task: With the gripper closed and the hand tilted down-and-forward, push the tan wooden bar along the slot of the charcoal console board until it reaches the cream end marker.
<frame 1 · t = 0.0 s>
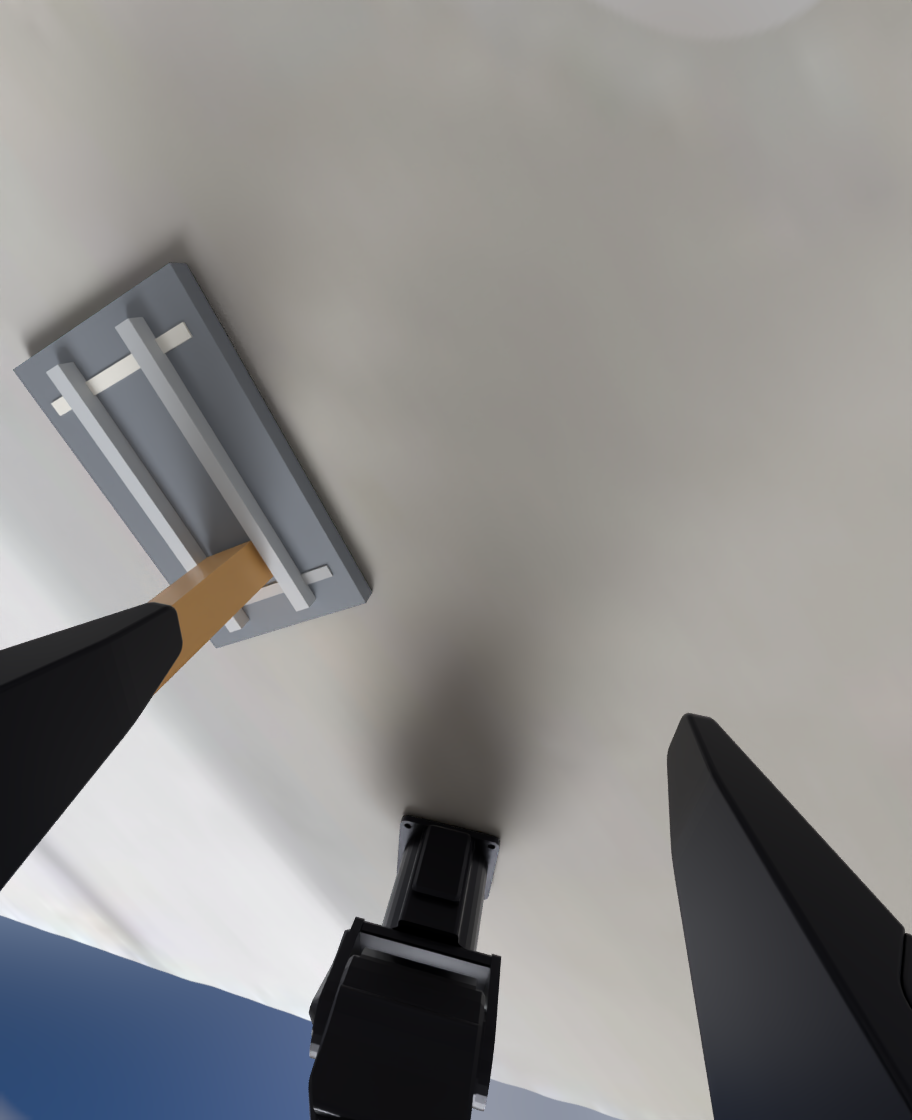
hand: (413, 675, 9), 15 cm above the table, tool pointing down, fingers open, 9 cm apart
console board: (209, 484, 26), on the table
tan wooden bar: (148, 645, 20), point 8 cm above the table, slide at 0.0 cm
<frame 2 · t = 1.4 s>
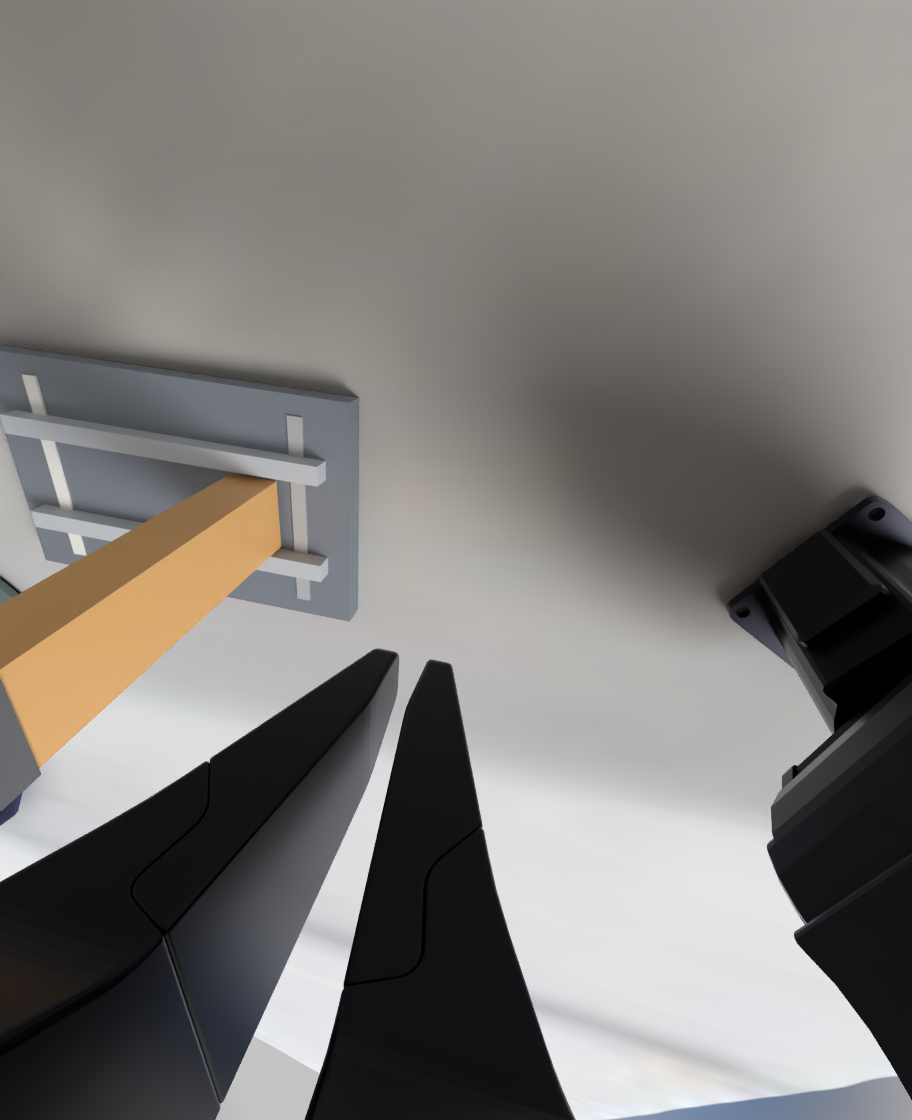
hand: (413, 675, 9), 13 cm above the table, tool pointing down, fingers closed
console board: (189, 485, 24), on the table
tan wooden bar: (149, 589, 17), point 8 cm above the table, slide at 0.0 cm
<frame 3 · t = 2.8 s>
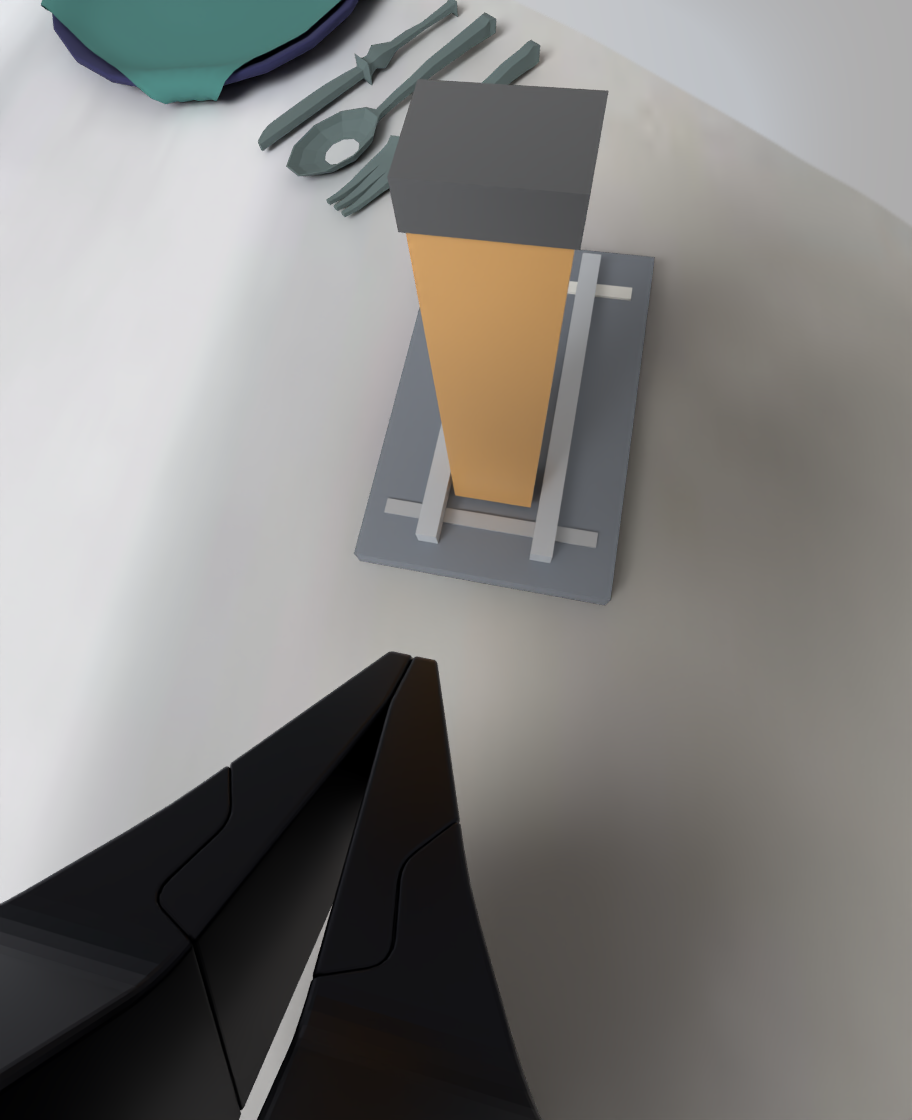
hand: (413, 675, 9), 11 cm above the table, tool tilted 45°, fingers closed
cutlery set: (275, 46, 32), on the table
console board: (513, 408, 23), on the table
tan wooden bar: (497, 379, 15), point 8 cm above the table, slide at 0.0 cm
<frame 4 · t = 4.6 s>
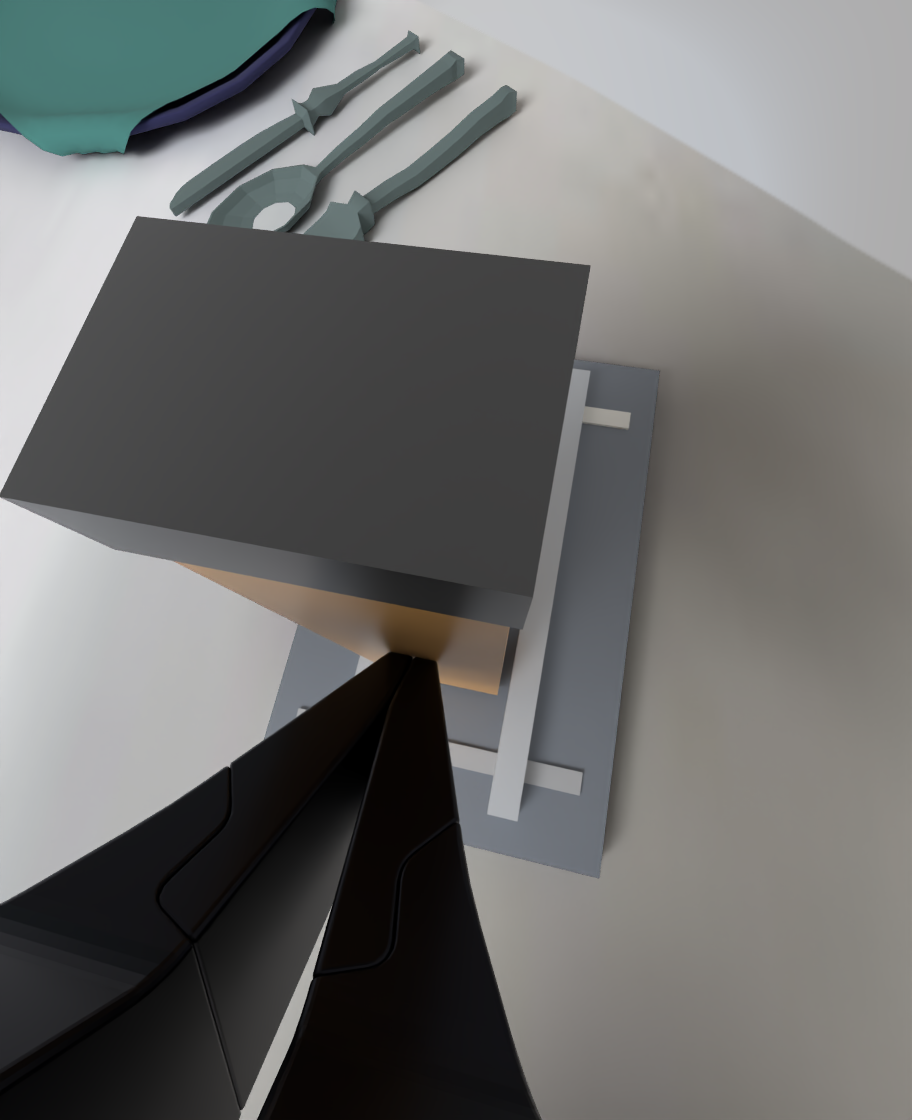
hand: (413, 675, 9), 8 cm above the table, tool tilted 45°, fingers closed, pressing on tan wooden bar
cutlery set: (205, 86, 27), on the table
console board: (474, 569, 18), on the table
tan wooden bar: (428, 603, 9), point 8 cm above the table, slide at 1.1 cm, touching gripper
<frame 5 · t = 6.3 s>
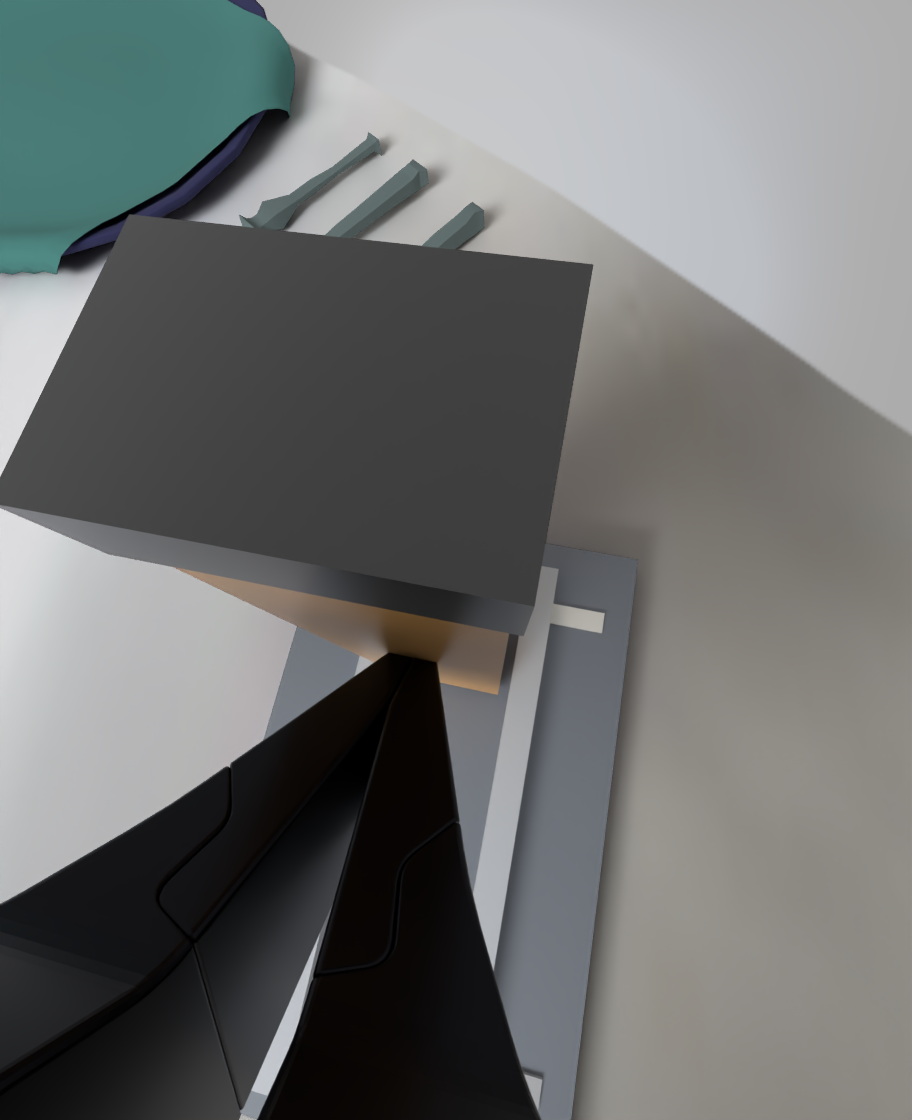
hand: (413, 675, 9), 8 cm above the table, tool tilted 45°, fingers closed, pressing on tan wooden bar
cutlery set: (151, 185, 25), on the table
console board: (428, 791, 16), on the table
tan wooden bar: (428, 604, 9), point 8 cm above the table, slide at 8.1 cm, touching gripper
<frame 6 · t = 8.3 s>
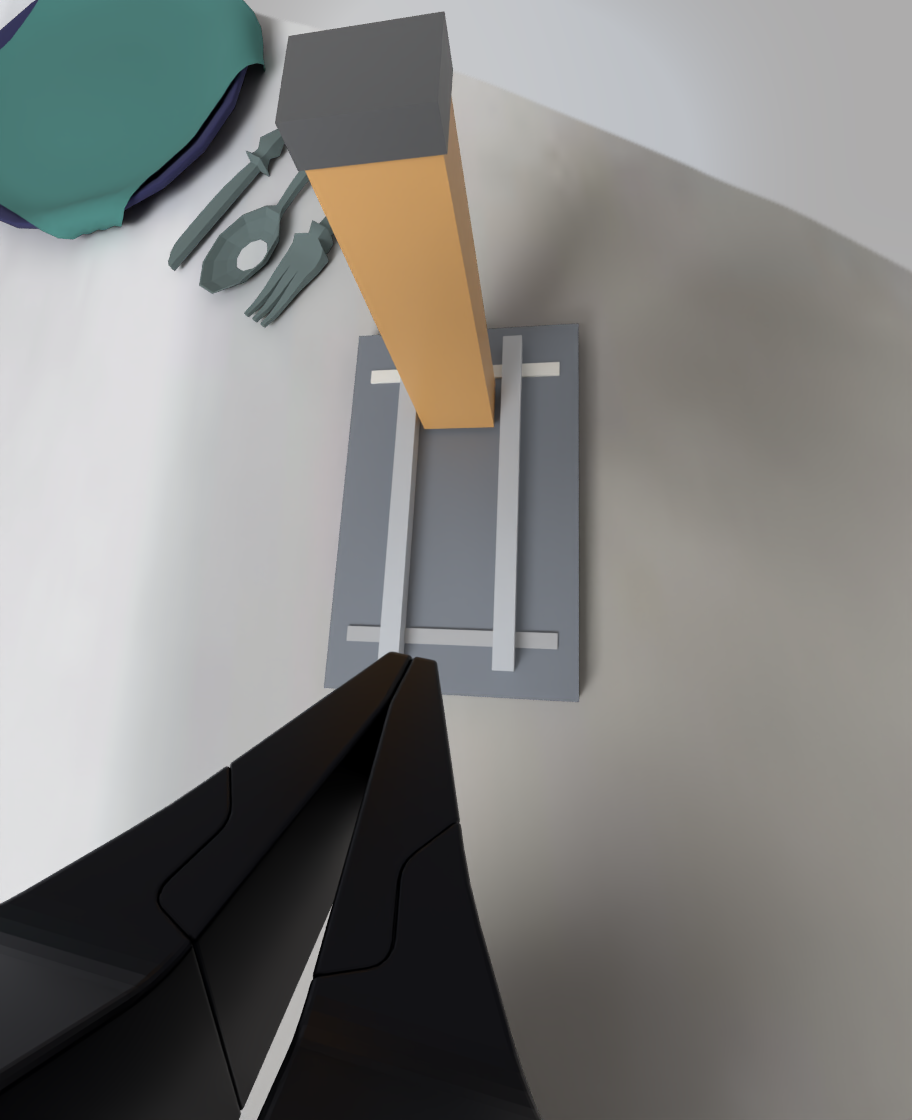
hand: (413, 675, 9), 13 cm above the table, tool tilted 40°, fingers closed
cutlery set: (170, 149, 32), on the table
console board: (460, 505, 23), on the table
tan wooden bar: (428, 301, 16), point 8 cm above the table, slide at 8.0 cm
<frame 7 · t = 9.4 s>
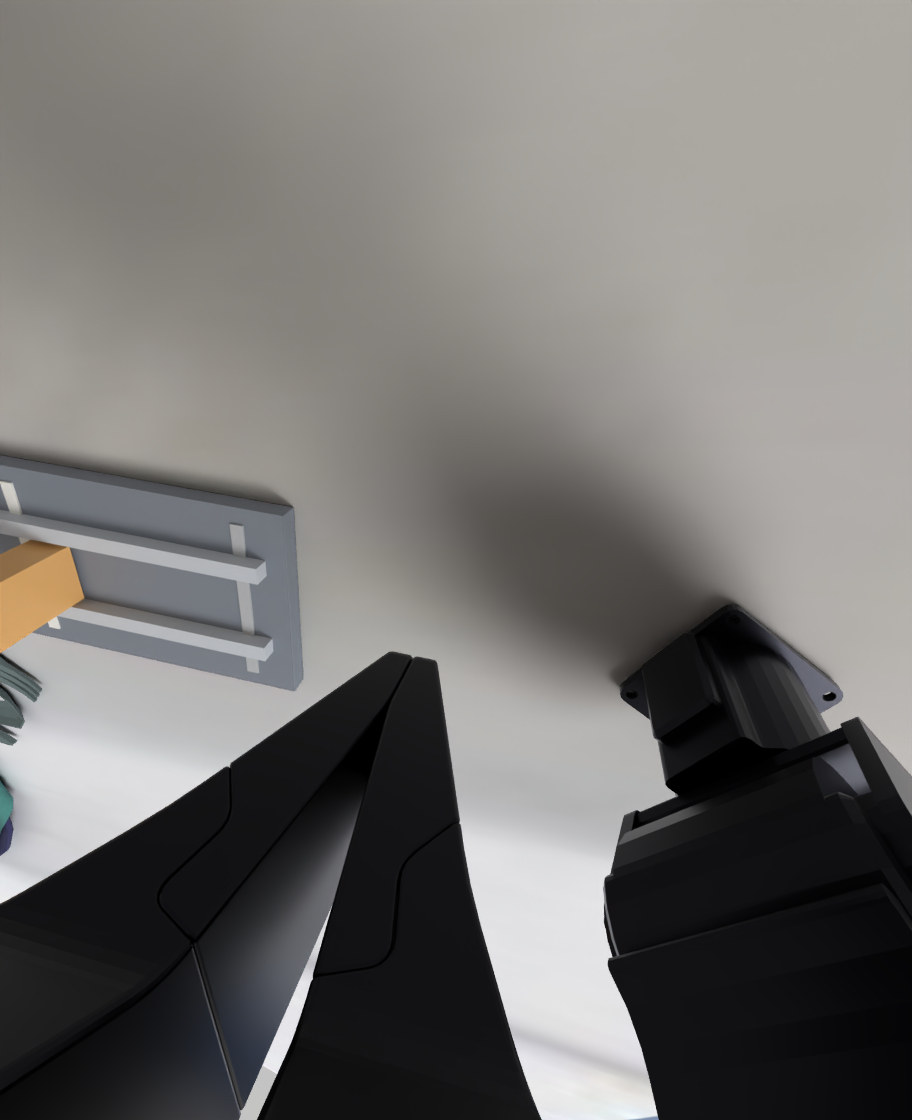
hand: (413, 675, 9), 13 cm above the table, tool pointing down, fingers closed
console board: (150, 571, 27), on the table
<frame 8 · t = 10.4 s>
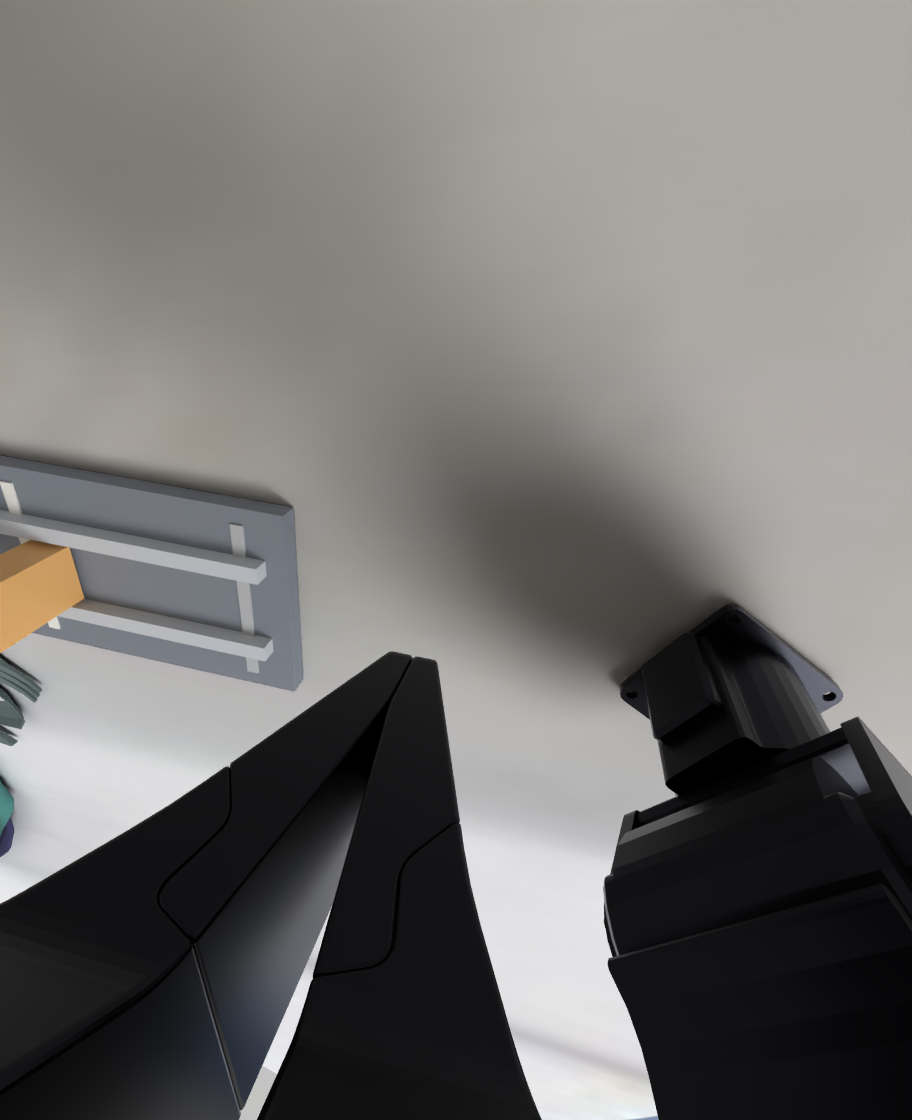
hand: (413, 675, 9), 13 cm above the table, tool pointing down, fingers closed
console board: (150, 571, 27), on the table
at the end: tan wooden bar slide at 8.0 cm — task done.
